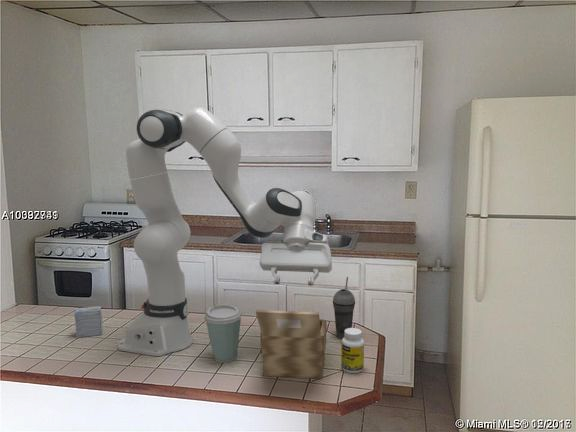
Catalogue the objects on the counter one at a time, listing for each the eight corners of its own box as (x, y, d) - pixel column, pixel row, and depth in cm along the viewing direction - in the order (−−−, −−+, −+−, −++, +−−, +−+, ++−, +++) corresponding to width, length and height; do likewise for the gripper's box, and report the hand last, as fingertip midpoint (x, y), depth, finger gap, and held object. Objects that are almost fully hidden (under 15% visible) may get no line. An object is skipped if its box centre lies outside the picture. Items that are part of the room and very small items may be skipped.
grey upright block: (103, 330, 163) (101, 305, 162) (102, 335, 159) (100, 309, 158) (77, 333, 161) (75, 308, 159) (76, 338, 157) (74, 312, 155)
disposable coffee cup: (250, 358, 141) (249, 309, 139) (219, 370, 134) (217, 318, 132) (229, 347, 149) (228, 300, 146) (199, 357, 142) (197, 309, 139)
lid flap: (262, 333, 129) (262, 336, 128) (256, 309, 120) (255, 312, 120) (321, 336, 126) (320, 338, 126) (319, 312, 118) (318, 314, 117)
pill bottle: (338, 371, 133) (338, 333, 131) (344, 362, 138) (344, 325, 137) (361, 375, 130) (361, 336, 129) (365, 365, 136) (366, 328, 134)
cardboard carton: (260, 375, 131) (259, 333, 129) (268, 356, 143) (267, 317, 141) (323, 379, 129) (323, 336, 127) (326, 359, 140) (326, 319, 138)
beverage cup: (340, 330, 161) (340, 271, 158) (359, 335, 157) (360, 275, 154) (327, 337, 156) (328, 276, 153) (347, 342, 151) (347, 281, 148)
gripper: (261, 234, 139) (254, 276, 131) (332, 236, 136) (330, 279, 128) (264, 246, 144) (258, 287, 136) (333, 248, 141) (331, 290, 133)
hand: (293, 283), depth 132 cm, fingers open, 8 cm apart
